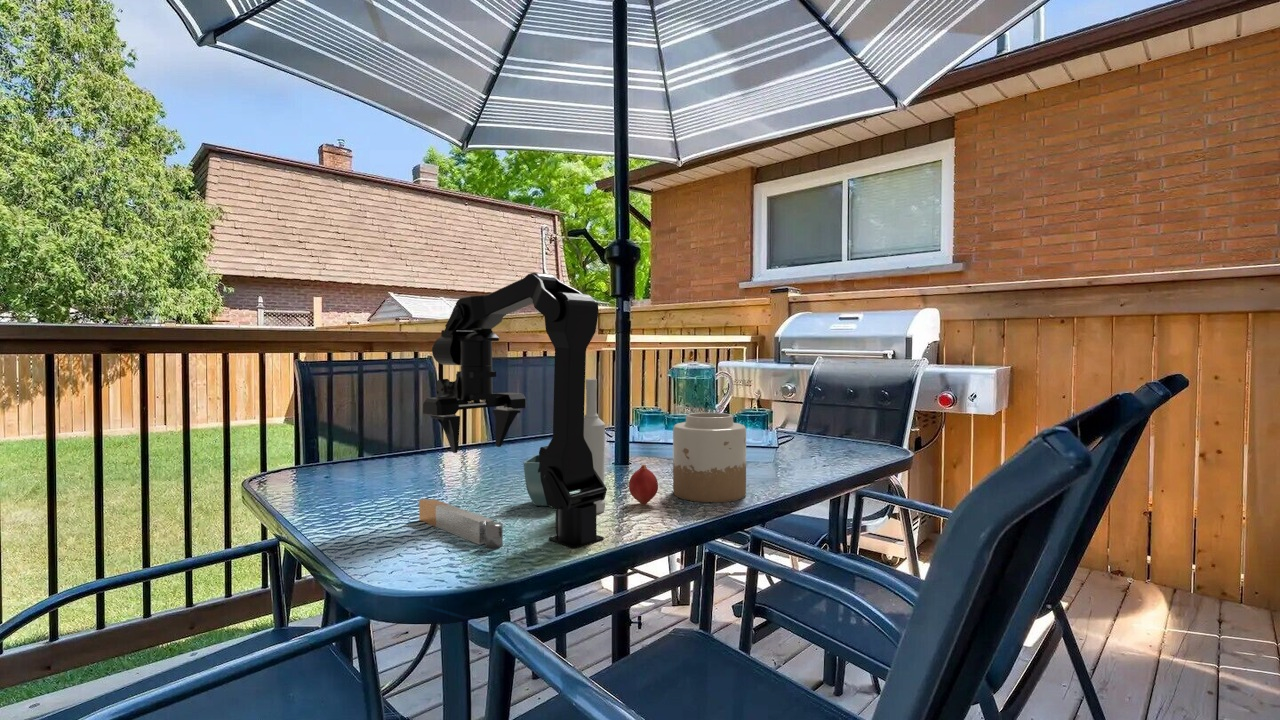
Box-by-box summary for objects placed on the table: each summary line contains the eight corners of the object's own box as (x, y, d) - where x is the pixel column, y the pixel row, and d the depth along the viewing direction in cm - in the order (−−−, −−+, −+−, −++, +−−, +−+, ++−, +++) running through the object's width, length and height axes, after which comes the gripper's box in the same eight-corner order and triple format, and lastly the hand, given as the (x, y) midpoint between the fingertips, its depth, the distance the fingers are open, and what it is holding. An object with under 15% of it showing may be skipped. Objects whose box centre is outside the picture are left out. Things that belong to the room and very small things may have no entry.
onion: (624, 502, 124) (624, 462, 124) (651, 499, 126) (651, 460, 126) (634, 509, 118) (634, 468, 118) (662, 506, 121) (662, 465, 120)
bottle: (594, 515, 114) (594, 380, 114) (572, 511, 117) (571, 379, 116) (610, 509, 119) (610, 378, 118) (589, 505, 121) (588, 378, 121)
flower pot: (577, 498, 127) (576, 455, 127) (567, 510, 118) (567, 463, 118) (535, 497, 128) (534, 454, 128) (522, 508, 119) (522, 462, 119)
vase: (708, 482, 142) (708, 409, 141) (761, 494, 130) (761, 415, 130) (658, 492, 132) (658, 414, 132) (710, 507, 120) (710, 421, 120)
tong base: (506, 547, 97) (506, 524, 96) (491, 551, 95) (491, 528, 95) (433, 518, 113) (432, 498, 113) (419, 521, 111) (419, 501, 111)
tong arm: (486, 543, 98) (486, 520, 98) (479, 544, 97) (479, 522, 97) (425, 518, 112) (425, 498, 112) (419, 519, 111) (419, 499, 111)
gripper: (495, 363, 128) (496, 439, 128) (408, 366, 114) (409, 450, 115) (527, 365, 120) (528, 445, 120) (438, 367, 106) (439, 458, 107)
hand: (477, 449), depth 116 cm, fingers open, 9 cm apart
